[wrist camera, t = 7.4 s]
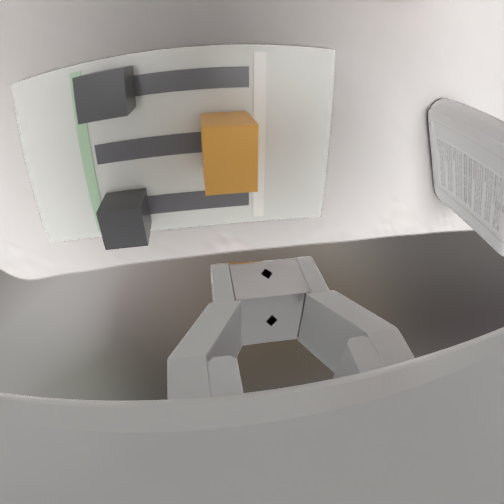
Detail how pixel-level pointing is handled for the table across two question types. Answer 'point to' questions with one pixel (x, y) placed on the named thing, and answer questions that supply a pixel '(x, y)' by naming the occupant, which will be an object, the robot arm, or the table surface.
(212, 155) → the orange handle
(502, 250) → the photo printer
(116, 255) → the table surface
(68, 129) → the white slider board
